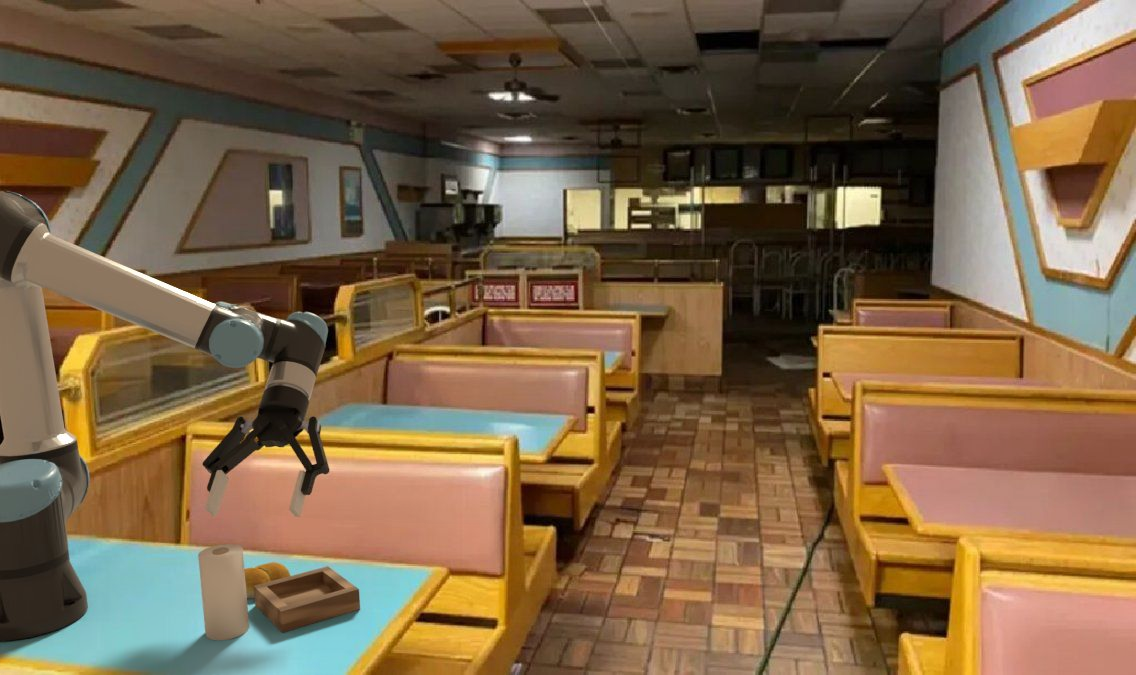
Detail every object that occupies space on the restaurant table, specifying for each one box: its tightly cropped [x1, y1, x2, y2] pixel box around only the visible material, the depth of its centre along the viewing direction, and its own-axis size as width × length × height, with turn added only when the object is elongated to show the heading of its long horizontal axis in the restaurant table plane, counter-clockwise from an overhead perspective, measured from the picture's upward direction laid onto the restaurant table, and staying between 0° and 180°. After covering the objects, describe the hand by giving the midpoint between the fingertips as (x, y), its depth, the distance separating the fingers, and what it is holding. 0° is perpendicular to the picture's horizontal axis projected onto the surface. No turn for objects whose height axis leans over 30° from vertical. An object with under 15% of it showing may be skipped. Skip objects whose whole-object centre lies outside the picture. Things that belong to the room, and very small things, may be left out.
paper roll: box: [197, 543, 250, 641], centre depth 134 cm, size 6×6×12 cm
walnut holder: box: [254, 565, 361, 633], centre depth 142 cm, size 12×12×3 cm
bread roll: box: [244, 561, 291, 599], centre depth 150 cm, size 8×9×4 cm
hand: (252, 512), depth 142 cm, fingers open, 13 cm apart
